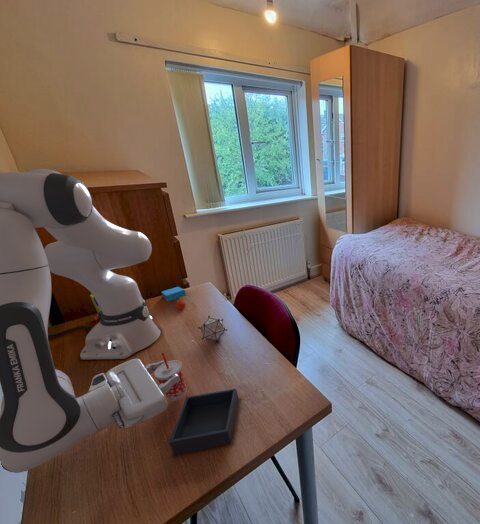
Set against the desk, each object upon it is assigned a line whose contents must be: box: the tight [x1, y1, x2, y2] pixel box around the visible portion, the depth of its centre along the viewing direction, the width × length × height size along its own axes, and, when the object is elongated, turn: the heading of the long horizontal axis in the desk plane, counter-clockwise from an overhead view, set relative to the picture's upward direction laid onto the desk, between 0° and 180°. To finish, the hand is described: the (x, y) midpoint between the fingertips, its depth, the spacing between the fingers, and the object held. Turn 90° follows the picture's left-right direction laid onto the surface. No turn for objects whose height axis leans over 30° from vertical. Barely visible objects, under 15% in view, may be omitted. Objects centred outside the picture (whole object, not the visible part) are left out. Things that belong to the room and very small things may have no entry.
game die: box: [197, 315, 228, 343], centre depth 99 cm, size 9×8×10 cm
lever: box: [161, 286, 187, 310], centre depth 123 cm, size 7×7×18 cm
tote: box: [168, 388, 240, 456], centre depth 70 cm, size 12×12×4 cm
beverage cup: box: [154, 352, 188, 402], centre depth 74 cm, size 6×6×14 cm
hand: (172, 369), depth 74 cm, fingers closed on beverage cup, 6 cm apart
